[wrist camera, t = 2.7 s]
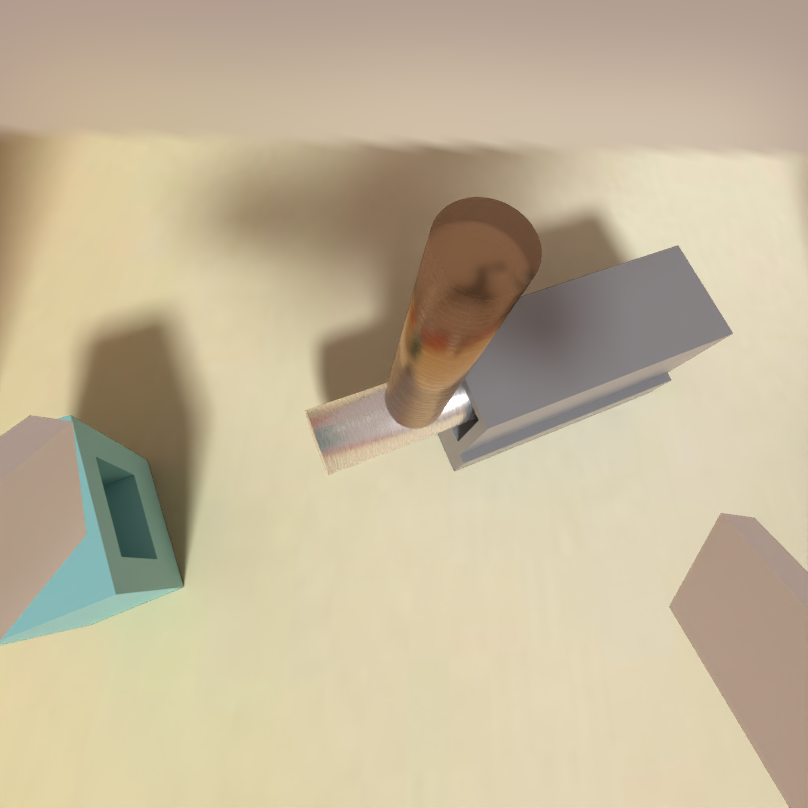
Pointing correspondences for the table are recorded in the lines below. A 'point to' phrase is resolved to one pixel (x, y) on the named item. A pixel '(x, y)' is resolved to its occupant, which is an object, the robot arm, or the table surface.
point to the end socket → (106, 544)
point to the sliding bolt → (437, 334)
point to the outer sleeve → (584, 352)
